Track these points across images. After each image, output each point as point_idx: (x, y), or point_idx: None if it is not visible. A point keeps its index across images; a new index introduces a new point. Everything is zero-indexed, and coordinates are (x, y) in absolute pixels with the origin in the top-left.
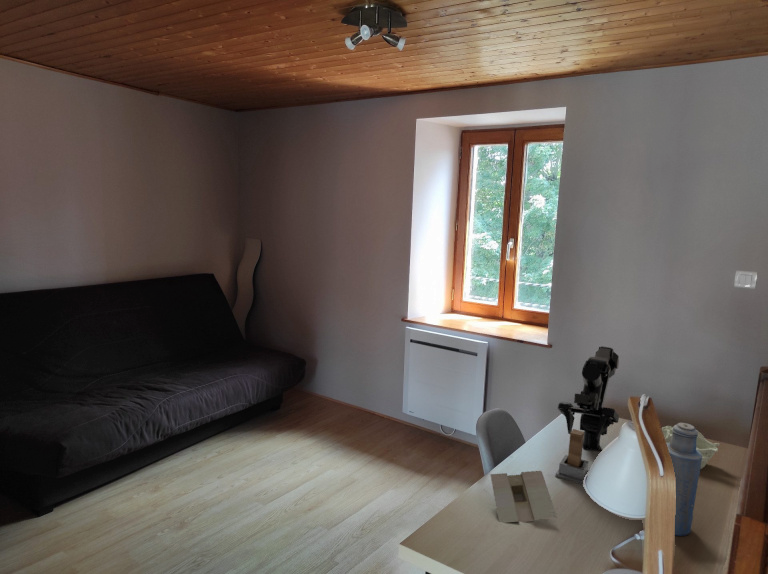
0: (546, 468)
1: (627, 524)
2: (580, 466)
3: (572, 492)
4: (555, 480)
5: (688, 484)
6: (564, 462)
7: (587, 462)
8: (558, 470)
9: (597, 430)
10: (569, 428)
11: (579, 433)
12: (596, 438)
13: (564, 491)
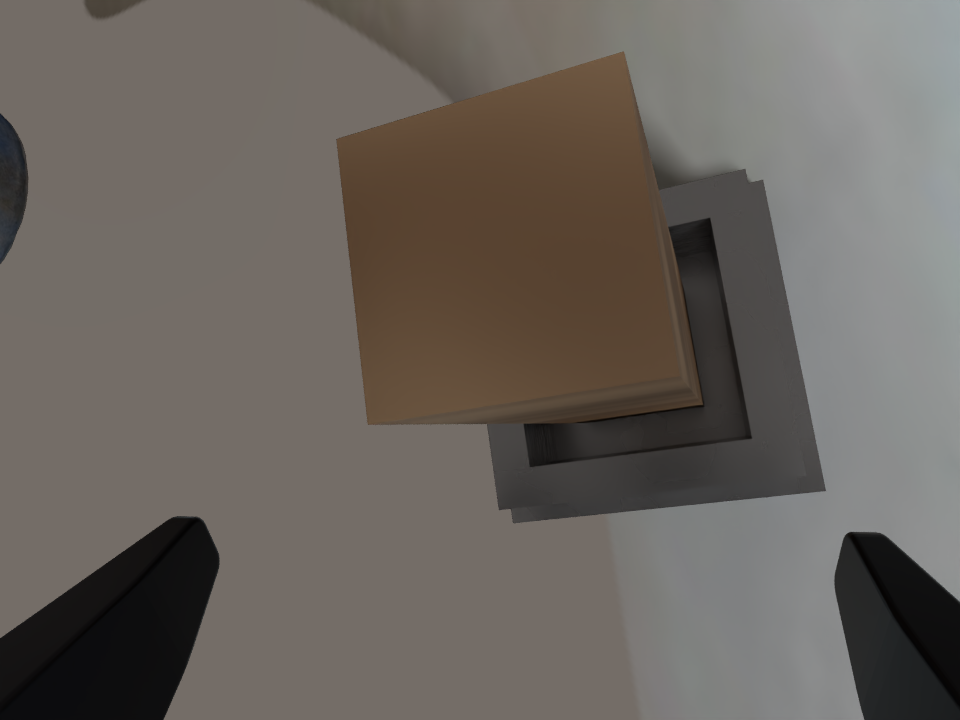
0: (934, 279)
1: (118, 6)
2: (588, 457)
3: (507, 56)
4: (718, 117)
5: None
6: (719, 270)
7: (499, 470)
8: (772, 269)
9: (72, 628)
10: (908, 615)
11: (416, 203)
12: (211, 537)
13: (564, 10)
